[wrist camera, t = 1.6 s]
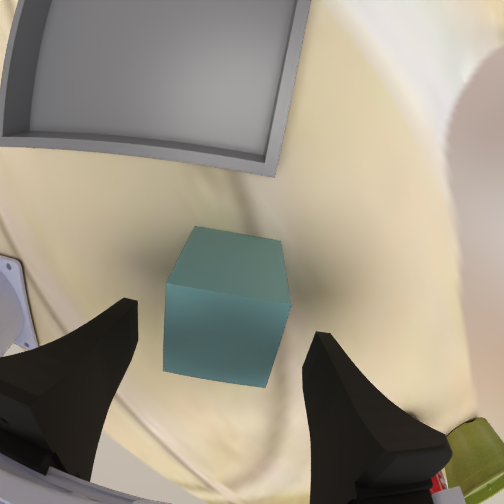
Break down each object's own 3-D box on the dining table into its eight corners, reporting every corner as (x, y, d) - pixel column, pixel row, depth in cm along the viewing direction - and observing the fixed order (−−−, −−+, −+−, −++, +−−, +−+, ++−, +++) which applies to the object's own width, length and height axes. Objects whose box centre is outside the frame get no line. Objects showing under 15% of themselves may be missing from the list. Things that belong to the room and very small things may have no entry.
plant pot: (410, 453, 27) (430, 518, 19) (477, 399, 23) (511, 465, 15) (451, 458, 29) (470, 511, 21) (507, 412, 25) (535, 464, 17)
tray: (28, 138, 14) (-4, 146, 12) (77, -71, 9) (55, -89, 6) (271, 166, 15) (274, 177, 13) (319, -72, 10) (330, -99, 7)
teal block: (187, 298, 19) (162, 370, 13) (195, 225, 17) (166, 282, 11) (263, 311, 19) (265, 387, 13) (280, 240, 17) (291, 304, 12)
